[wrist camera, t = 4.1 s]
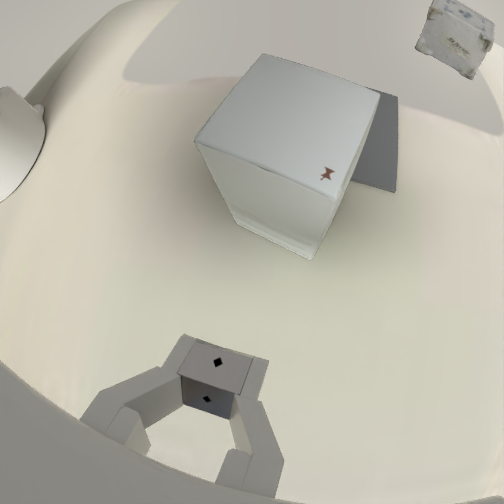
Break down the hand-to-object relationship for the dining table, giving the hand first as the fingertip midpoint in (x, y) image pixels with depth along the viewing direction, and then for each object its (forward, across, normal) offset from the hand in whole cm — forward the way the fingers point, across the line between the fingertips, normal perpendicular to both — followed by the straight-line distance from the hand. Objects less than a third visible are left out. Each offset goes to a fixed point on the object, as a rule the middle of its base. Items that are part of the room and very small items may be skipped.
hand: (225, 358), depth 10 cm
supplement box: (+18, 0, +1) cm, 18 cm away
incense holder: (+41, -18, -21) cm, 49 cm away
